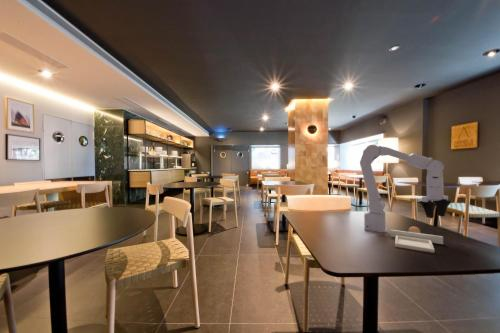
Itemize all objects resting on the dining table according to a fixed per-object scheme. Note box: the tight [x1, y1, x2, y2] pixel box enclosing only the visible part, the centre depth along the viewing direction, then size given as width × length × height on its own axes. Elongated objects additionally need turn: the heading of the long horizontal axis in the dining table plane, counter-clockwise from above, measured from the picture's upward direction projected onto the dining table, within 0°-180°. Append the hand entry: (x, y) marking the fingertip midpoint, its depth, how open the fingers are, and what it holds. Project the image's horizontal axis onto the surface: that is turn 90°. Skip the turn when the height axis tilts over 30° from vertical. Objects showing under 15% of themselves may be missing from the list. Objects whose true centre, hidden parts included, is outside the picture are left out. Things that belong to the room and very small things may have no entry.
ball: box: [408, 226, 422, 234], centre depth 96 cm, size 4×4×4 cm
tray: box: [394, 235, 435, 254], centre depth 85 cm, size 12×12×1 cm
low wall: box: [390, 229, 444, 245], centre depth 91 cm, size 18×1×3 cm, turn 54°
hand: (435, 216), depth 93 cm, fingers open, 7 cm apart
